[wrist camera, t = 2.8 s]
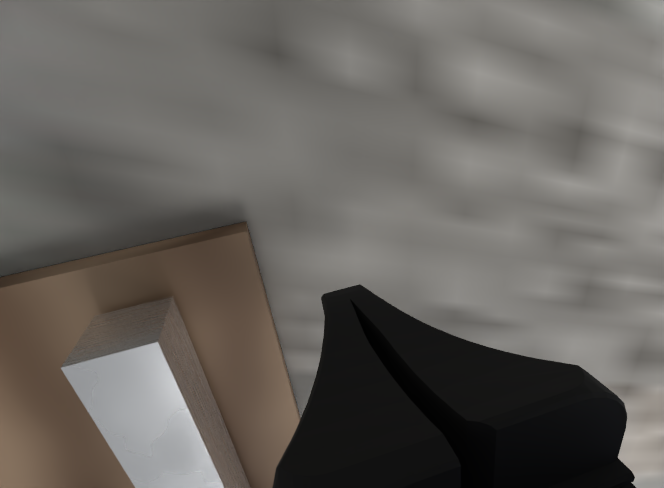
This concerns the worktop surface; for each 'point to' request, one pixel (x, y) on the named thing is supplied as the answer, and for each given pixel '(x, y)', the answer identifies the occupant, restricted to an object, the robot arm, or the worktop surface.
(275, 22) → the worktop surface
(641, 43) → the worktop surface
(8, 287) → the board
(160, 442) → the link
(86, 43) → the worktop surface
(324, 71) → the worktop surface
